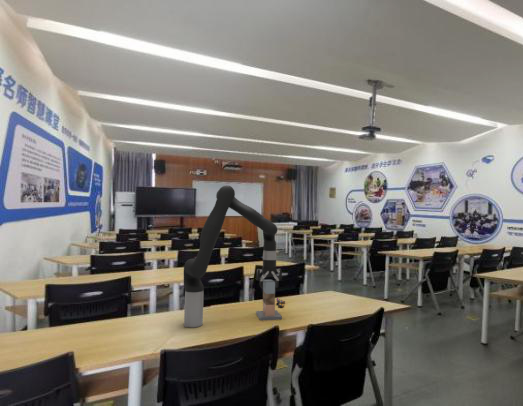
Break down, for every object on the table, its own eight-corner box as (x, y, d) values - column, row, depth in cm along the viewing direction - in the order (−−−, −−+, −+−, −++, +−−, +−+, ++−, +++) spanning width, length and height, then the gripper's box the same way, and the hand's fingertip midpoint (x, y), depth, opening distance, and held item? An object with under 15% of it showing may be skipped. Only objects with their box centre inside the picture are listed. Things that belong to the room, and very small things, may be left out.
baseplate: (260, 320, 177) (260, 306, 178) (256, 313, 189) (256, 300, 189) (281, 319, 180) (282, 305, 180) (276, 312, 191) (276, 299, 192)
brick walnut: (265, 304, 180) (266, 293, 180) (262, 301, 188) (263, 290, 188) (274, 304, 181) (274, 293, 181) (271, 300, 189) (271, 290, 189)
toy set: (271, 309, 200) (271, 301, 200) (266, 304, 211) (266, 296, 211) (290, 308, 203) (290, 300, 203) (284, 303, 214) (284, 296, 214)
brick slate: (266, 293, 180) (266, 282, 181) (263, 290, 188) (263, 279, 189) (274, 293, 181) (275, 282, 182) (271, 290, 189) (271, 279, 189)
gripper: (280, 257, 191) (279, 285, 190) (255, 257, 188) (255, 286, 187) (283, 259, 183) (283, 288, 183) (258, 259, 180) (257, 289, 180)
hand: (269, 287), depth 185 cm, fingers open, 8 cm apart
